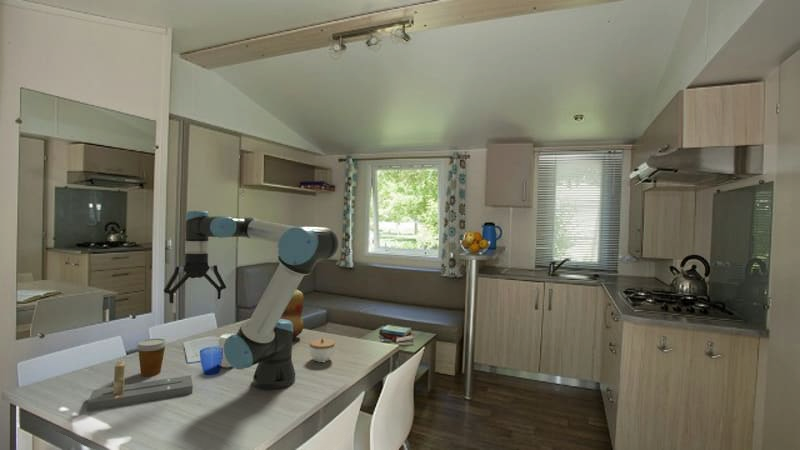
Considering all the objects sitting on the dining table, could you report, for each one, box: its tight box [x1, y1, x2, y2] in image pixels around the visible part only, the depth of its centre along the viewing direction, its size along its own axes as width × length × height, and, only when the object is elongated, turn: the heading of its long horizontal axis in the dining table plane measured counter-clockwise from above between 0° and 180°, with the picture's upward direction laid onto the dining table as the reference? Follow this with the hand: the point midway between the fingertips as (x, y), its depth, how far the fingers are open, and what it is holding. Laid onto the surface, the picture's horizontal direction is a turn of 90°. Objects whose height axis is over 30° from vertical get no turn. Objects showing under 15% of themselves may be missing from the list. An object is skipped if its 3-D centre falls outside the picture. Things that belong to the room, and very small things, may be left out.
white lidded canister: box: [218, 332, 237, 368], centre depth 155 cm, size 8×8×12 cm
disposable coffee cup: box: [136, 337, 168, 377], centre depth 144 cm, size 10×10×12 cm
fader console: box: [86, 374, 193, 412], centre depth 126 cm, size 28×10×3 cm, turn 122°
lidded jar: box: [309, 338, 335, 363], centre depth 165 cm, size 11×11×9 cm
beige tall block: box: [113, 360, 126, 395], centre depth 122 cm, size 2×4×9 cm, turn 32°
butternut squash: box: [280, 289, 305, 340], centre depth 193 cm, size 14×13×25 cm
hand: (195, 310), depth 139 cm, fingers open, 13 cm apart
